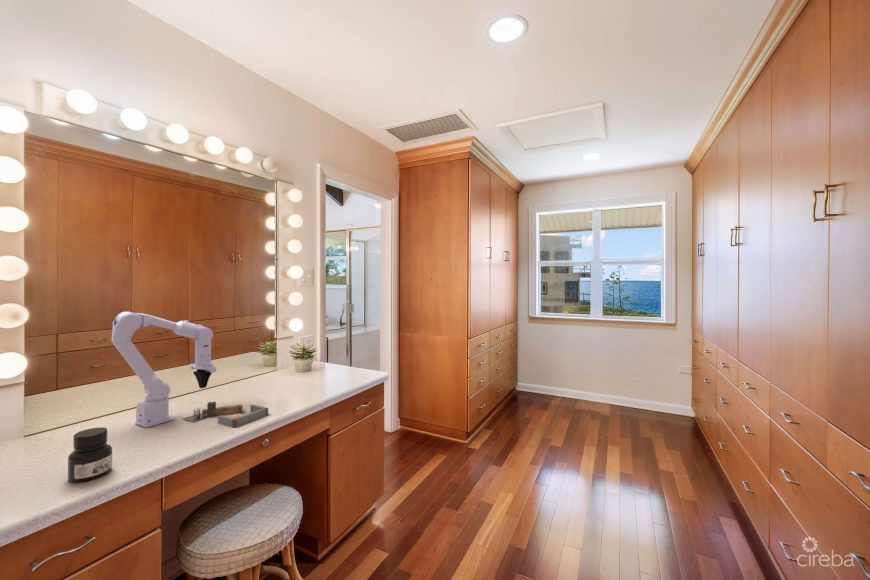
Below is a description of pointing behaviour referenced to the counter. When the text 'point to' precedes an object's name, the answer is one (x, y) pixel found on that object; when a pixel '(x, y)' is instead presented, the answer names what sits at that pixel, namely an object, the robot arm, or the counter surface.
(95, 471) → the ink bottle
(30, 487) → the counter surface
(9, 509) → the counter surface
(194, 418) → the pivot base
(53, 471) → the counter surface
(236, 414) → the ball
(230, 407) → the lever
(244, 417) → the tray
